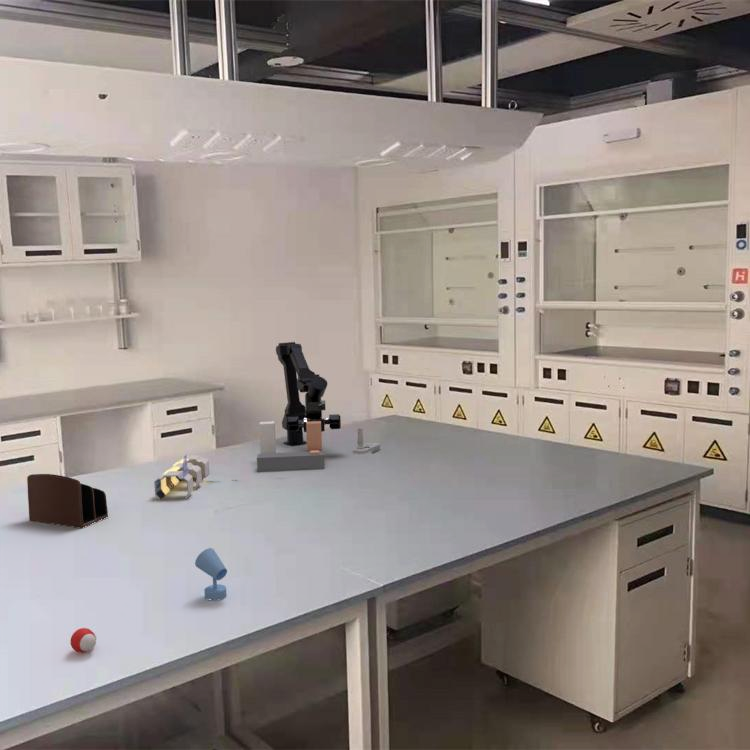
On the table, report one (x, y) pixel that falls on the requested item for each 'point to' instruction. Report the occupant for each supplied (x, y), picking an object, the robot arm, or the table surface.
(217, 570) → the spotlight
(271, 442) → the key
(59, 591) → the table surface
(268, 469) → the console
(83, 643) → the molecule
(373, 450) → the electronic device
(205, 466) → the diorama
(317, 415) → the robot arm
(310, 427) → the key
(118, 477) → the table surface
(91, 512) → the letter holder
